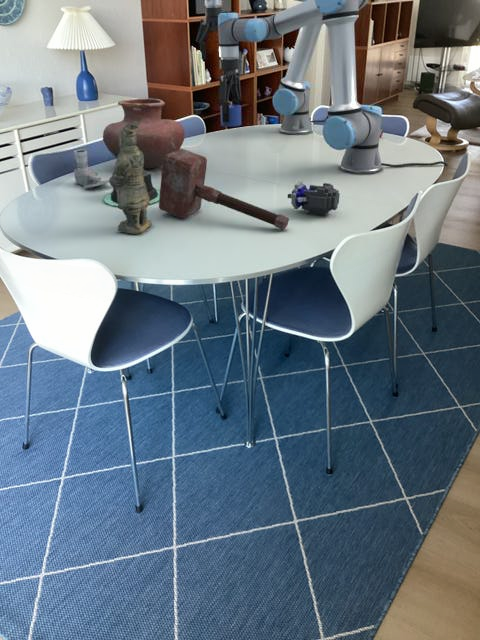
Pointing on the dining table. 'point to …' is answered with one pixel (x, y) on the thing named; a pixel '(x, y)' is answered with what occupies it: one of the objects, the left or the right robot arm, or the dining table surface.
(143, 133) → the clay pot
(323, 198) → the toy
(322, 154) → the dining table surface
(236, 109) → the canister
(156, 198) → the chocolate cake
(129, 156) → the statue
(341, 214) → the dining table surface
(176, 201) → the sledgehammer
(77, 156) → the grey boot
